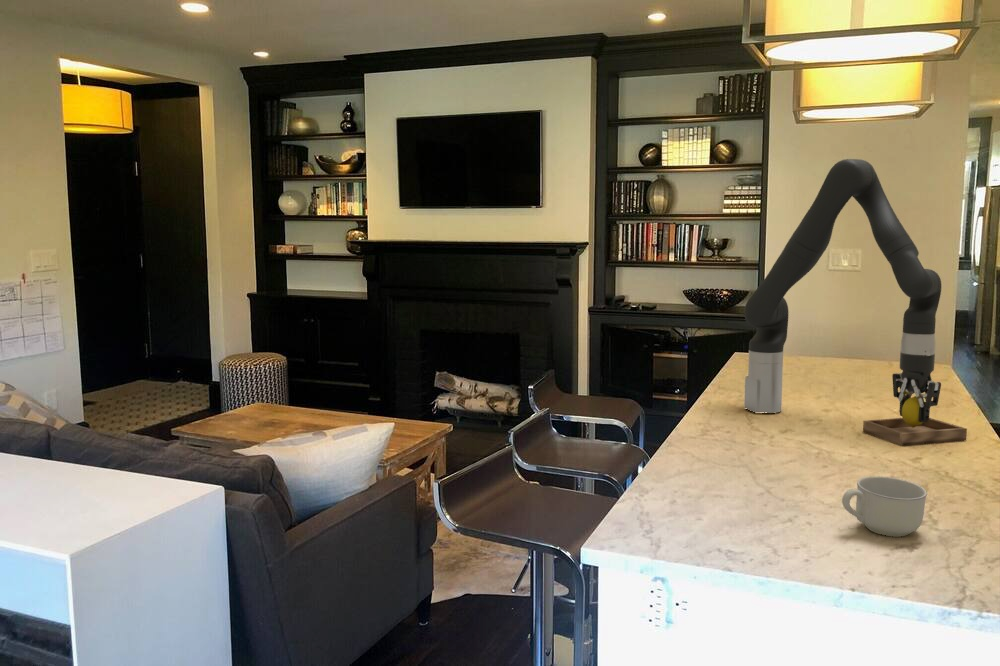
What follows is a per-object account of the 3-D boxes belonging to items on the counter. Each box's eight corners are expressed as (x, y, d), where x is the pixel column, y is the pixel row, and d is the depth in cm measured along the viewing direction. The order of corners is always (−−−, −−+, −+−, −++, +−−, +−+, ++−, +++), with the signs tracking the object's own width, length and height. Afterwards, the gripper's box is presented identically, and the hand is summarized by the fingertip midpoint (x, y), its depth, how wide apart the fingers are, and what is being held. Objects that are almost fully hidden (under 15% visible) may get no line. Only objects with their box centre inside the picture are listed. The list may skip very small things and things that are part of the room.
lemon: (928, 431, 199) (931, 399, 198) (904, 430, 200) (906, 398, 199) (921, 425, 205) (924, 394, 203) (897, 424, 206) (900, 393, 204)
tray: (902, 446, 194) (903, 433, 193) (862, 432, 207) (863, 420, 207) (966, 440, 198) (966, 428, 198) (923, 427, 211) (924, 416, 211)
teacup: (906, 519, 146) (909, 475, 144) (936, 542, 135) (939, 495, 134) (827, 519, 146) (828, 475, 145) (850, 542, 135) (852, 495, 134)
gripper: (883, 348, 206) (880, 413, 208) (926, 356, 192) (922, 426, 194) (909, 346, 208) (905, 411, 210) (953, 355, 194) (949, 424, 196)
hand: (913, 418), depth 202 cm, fingers open, 5 cm apart
